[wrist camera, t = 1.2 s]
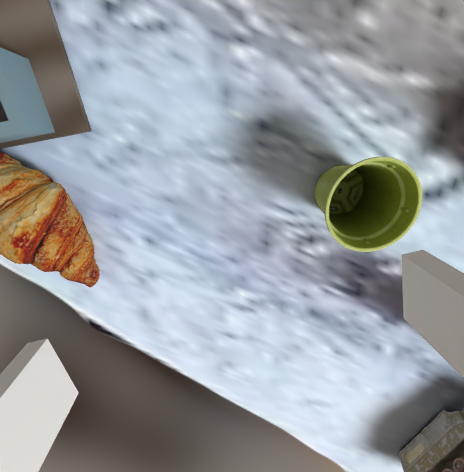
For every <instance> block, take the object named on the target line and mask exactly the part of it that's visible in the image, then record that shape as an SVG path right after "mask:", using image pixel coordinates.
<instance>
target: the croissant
mask: <svg viewBox="0 0 464 472" xmlns="http://www.w3.org/2000/svg"><path fill="white" fill-rule="evenodd" d="M0 254H1V255H3V256H4V257H5V258H7V259H8V260H10V261H12V262H14V263H18V264H21V263H23V264H32V265H33V266H36V267H37V268H38V269H40V270H42V271H44V272H52V271H58V272H60V275H61V276H62V277H64V278H65V279H67V280H70V281H75V282H79V283H83V284H85V285H87V286H88V287H92V286H93V285H95V284H96V282H97V281H98V279H99V275H100V274H99V271H100V270H99V268H98V266H97V264H96V263H95V262H96V261H95V259H94V244H93V242H92V238H91V237H90V234H89V233H88V231H87V229H86V226H85V224H84V221H83V218H82V216H81V214H80V213H79V211H78V210H77V208H76V207H75V206H74V205H73V203H72V201H71V199H70V197H69V195H68V194H67V193H66V191H65V189H64V188H63V187H62V185H61V184H58V183H55V182H53V180H52V179H51V178H50V177H48V176H46V175H45V174H44V173H42V172H41V171H39V170H32V169H31V168H27V167H24V166H22V164H21V163H20V162H19V161H18V160H15V159H13V158H11V157H10V156H9V155H7V154H5V153H2V152H0Z"/></svg>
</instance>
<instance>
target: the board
mask: <svg viewBox="0 0 464 472" xmlns="http://www.w3.org/2000/svg"><path fill="white" fill-rule="evenodd" d="M0 47H1V48H3V49H5V50H8V51H10V52H13V53H15V54H18V55H20V56H23V57H25V58H27V59H29V62H30V65H31V68H32V70H33V73H34V76H35V78H36V81H37V84H38V87H39V89H40V92H41V95H42V98H43V100H44V103H45V106H46V109H47V111H48V114H49V117H50V120H51V122H52V125H53V128H54V131H55V132H54V133H49V134H44V135H39V136H34V137H29V138H24V139H18V140H13V141H8V142H3V143H0V149H2V148H7V147H12V146H17V145H23V144H28V143H33V142H38V141H43V140H48V139H53V138H59V137H64V136H69V135H74V134H79V133H84V132H90V131H91V128H90V125H89V121H88V118H87V115H86V112H85V109H84V106H83V103H82V100H81V97H80V94H79V91H78V88H77V84H76V81H75V78H74V75H73V72H72V69H71V66H70V63H69V60H68V57H67V54H66V51H65V48H64V44H63V41H62V38H61V35H60V32H59V29H58V26H57V23H56V20H55V17H54V14H53V11H52V7H51V4H50V1H49V0H0ZM4 121H9V120H8V118H7V115H6V113H5V110H4V108H3V105H2V103H1V101H0V122H4Z"/></svg>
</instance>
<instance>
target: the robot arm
mask: <svg viewBox="0 0 464 472" xmlns="http://www.w3.org/2000/svg"><path fill="white" fill-rule="evenodd" d="M402 280H403V313H404V319H405V320H406V321H407V322H408V323H409V324H410V325H411V326H412V327H413V328H414V329H415V330H416V331H417V332H418V333H419V334H420V335H421V336H422V337H423V338H424V339H425V340H426V341H427V342H428V343H429V344H430V345H431V346H432V347H433V348H434V349H435V350H436V351H437V352H438V353H439V354H440V355H441V356H442V357H443V358H444V359H445V360H446V361H447V362H448V363H449V364H450V365H451V366H452V367H453V368H454V369H455V370H456V371H457V372H458V373H459V374H460V375H461V376H462V377H463V378H464V273H462V272H460V271H459V270H457V269H455V268H453V267H452V266H450V265H448V264H447V263H445V262H443V261H441V260H440V259H438V258H436V257H435V256H433V255H431V254H429V253H428V252H426V251H424V250H420V251H416V252H412V253H408V254H403V255H402ZM77 395H78V391H77V389H76V388H75V386H74V384H73V382H72V381H71V379H70V377H69V375H68V374H67V372H66V370H65V369H64V367H63V365H62V363H61V362H60V360H59V358H58V356H57V355H56V353H55V351H54V349H53V347H52V346H51V344H50V343H49V340H48V339H44V340H40V341H35V342H31V343H27V345H26V346H25V347H24V348H23V349H22V350H21V352H20V353H19V354H18V355H17V356H16V357H15V358H14V360H13V361H12V362H11V363H10V364H9V365H8V366H7V368H6V369H5V370H4V371H3V372H2V373H1V375H0V472H38V471H39V469H40V467H41V465H42V463H43V461H44V459H45V457H46V456H47V454H48V452H49V450H50V448H51V445H52V444H53V442H54V440H55V438H56V436H57V434H58V432H59V430H60V428H61V426H62V424H63V422H64V420H65V418H66V416H67V414H68V413H69V411H70V409H71V407H72V405H73V403H74V401H75V399H76V397H77Z"/></svg>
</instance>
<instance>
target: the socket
mask: <svg viewBox="0 0 464 472" xmlns="http://www.w3.org/2000/svg"><path fill="white" fill-rule="evenodd" d="M0 101H1V103H2V105H3V108H4V110H5V113H6V115H7V118H8V120H9V121H4V122H0V143H3V142H8V141H13V140H18V139H24V138H29V137H34V136H39V135H44V134H49V133H54V132H55V131H54V128H53V125H52V122H51V120H50V117H49V114H48V111H47V109H46V106H45V103H44V100H43V98H42V95H41V92H40V89H39V87H38V84H37V81H36V78H35V76H34V73H33V70H32V68H31V65H30V62H29V59H27V58H25V57H23V56H20V55H18V54H15V53H13V52H10V51H8V50H5V49H3V48H1V47H0Z"/></svg>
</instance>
